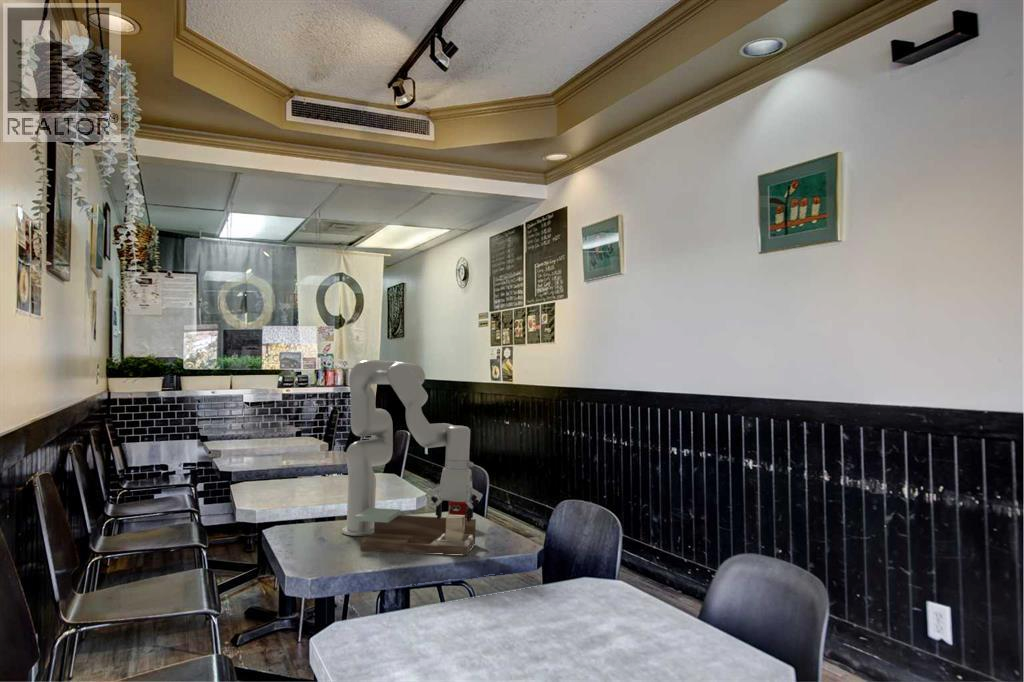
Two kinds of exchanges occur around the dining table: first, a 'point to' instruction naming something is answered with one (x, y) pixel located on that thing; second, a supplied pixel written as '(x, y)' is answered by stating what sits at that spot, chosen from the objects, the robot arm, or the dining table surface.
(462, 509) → the canned food
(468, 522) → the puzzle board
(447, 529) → the beech block
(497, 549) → the dining table surface
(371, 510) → the sliding cover
